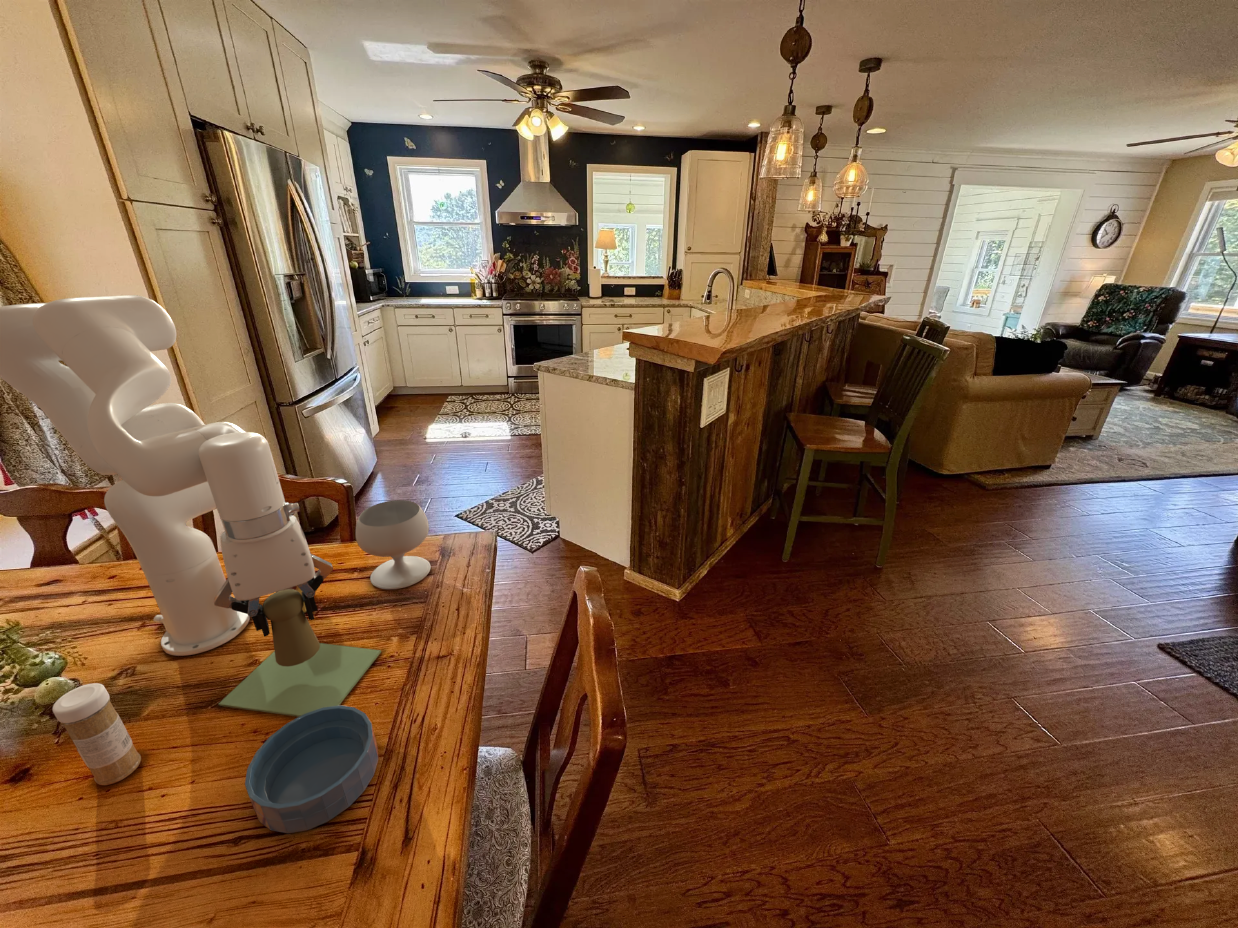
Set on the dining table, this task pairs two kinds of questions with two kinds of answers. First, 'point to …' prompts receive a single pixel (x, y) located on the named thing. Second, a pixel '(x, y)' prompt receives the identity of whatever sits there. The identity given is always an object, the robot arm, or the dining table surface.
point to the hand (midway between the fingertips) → (288, 621)
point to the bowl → (312, 768)
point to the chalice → (394, 542)
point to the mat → (302, 682)
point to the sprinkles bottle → (97, 733)
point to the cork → (290, 628)
